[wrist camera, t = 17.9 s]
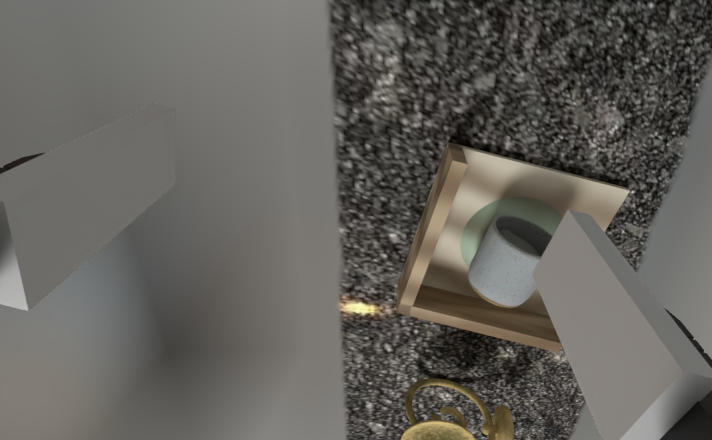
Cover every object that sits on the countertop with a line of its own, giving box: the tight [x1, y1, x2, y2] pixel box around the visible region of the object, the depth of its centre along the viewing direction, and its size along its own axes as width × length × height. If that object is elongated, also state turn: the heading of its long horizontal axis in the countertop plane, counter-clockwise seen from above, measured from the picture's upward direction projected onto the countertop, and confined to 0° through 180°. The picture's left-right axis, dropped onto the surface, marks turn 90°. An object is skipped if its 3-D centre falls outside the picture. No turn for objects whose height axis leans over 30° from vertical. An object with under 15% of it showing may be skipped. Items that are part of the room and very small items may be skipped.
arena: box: [397, 142, 630, 353], centre depth 48 cm, size 20×20×6 cm
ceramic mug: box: [468, 214, 553, 308], centre depth 46 cm, size 11×8×8 cm
